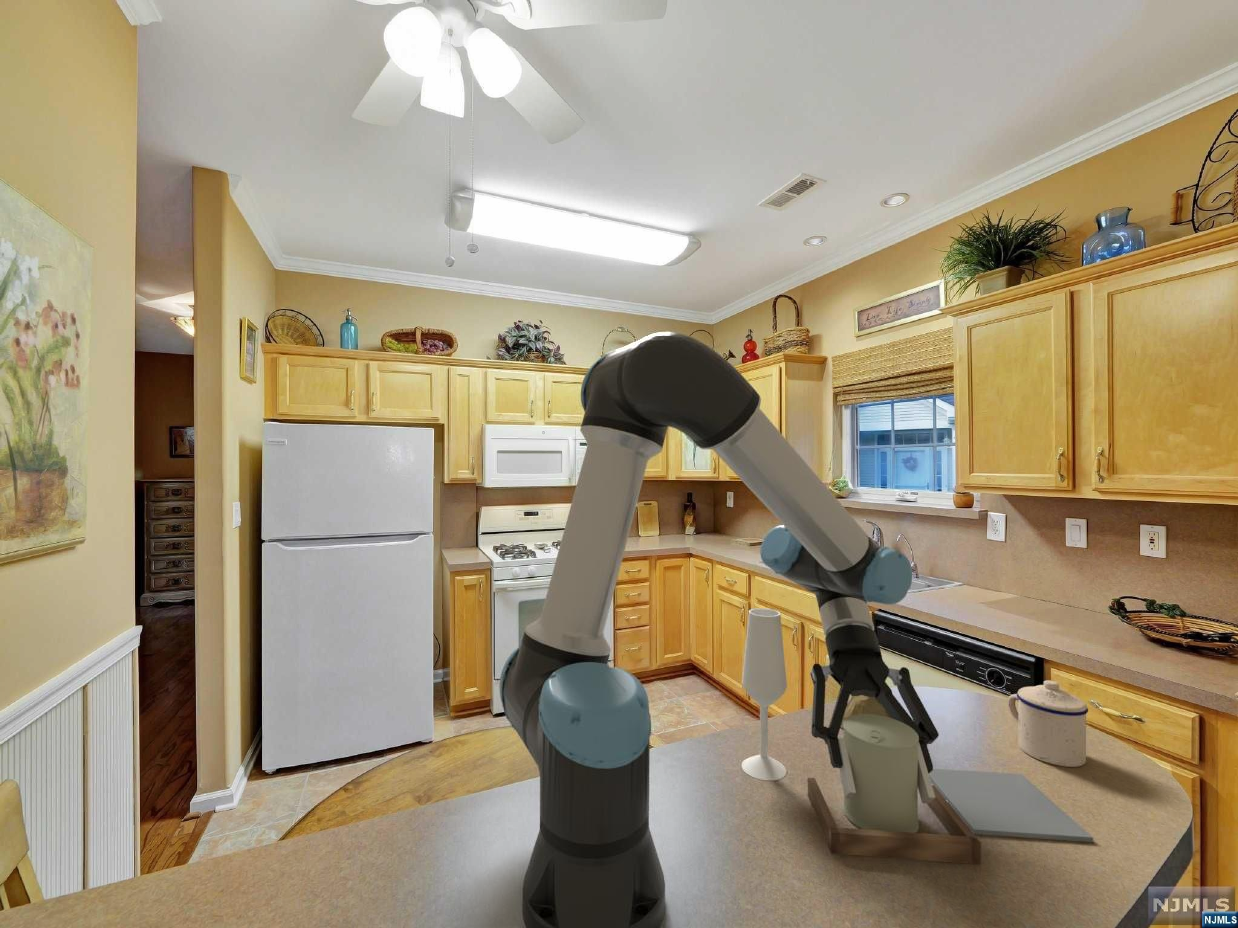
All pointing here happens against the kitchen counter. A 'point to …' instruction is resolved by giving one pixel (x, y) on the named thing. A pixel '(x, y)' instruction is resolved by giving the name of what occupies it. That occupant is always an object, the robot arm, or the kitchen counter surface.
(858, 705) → the rock
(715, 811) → the kitchen counter surface
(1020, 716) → the teacup with lid
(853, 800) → the can
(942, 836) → the walnut stall
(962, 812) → the slate tile
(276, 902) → the kitchen counter surface
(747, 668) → the champagne flute
